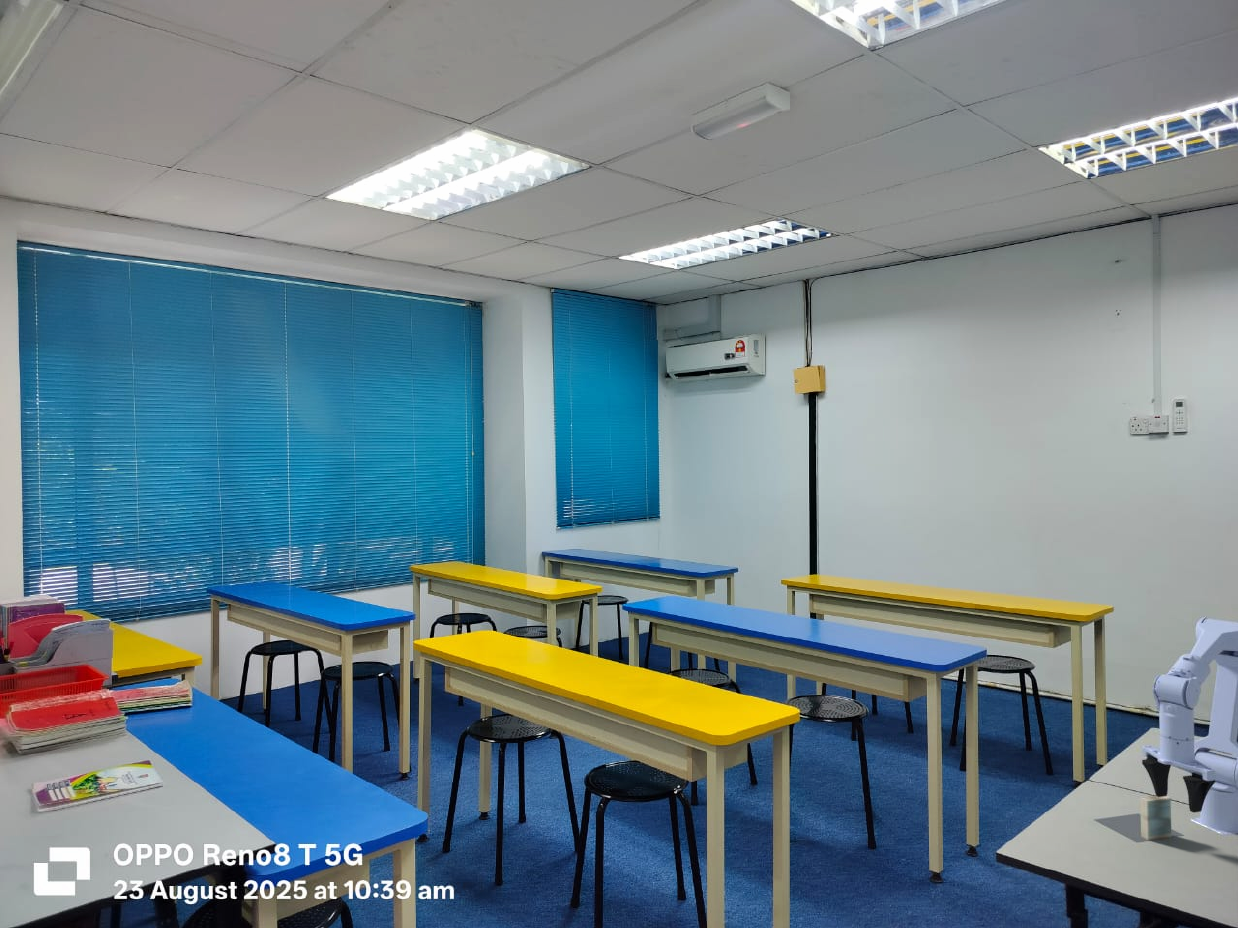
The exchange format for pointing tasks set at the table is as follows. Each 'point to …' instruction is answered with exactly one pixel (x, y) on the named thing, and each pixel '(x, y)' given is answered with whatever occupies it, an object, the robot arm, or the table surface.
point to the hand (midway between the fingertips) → (1178, 803)
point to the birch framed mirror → (1155, 817)
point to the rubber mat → (1129, 826)
